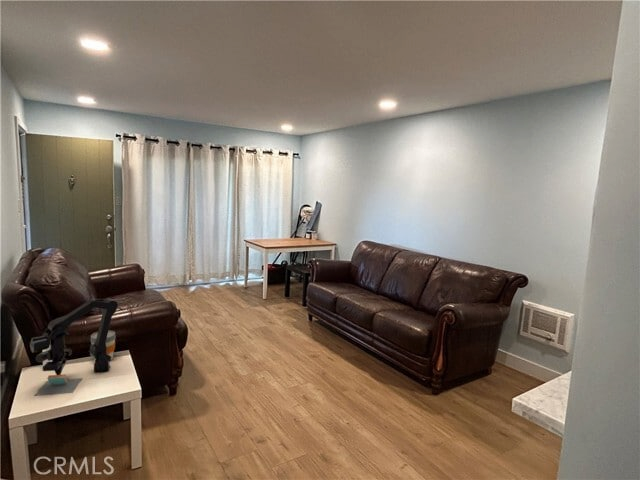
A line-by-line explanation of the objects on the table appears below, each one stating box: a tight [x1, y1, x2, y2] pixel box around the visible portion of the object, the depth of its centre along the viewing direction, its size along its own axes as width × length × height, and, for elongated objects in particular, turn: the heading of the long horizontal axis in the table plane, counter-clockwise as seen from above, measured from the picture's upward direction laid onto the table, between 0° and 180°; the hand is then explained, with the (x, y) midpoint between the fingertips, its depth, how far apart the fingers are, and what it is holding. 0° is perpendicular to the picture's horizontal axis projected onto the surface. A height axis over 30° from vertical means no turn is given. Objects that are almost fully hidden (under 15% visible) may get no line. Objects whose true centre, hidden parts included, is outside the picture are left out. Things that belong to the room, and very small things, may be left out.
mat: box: [33, 377, 83, 397], centre depth 180 cm, size 16×14×1 cm
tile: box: [47, 374, 68, 385], centre depth 181 cm, size 7×2×6 cm
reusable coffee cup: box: [90, 329, 117, 361], centre depth 210 cm, size 13×13×15 cm
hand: (58, 375), depth 182 cm, fingers closed
